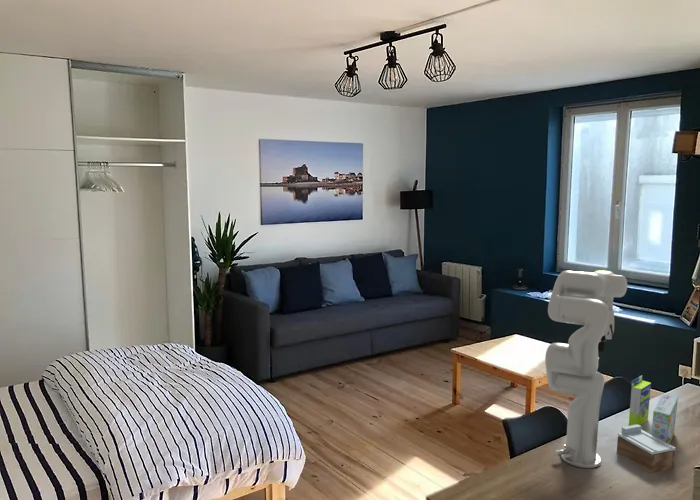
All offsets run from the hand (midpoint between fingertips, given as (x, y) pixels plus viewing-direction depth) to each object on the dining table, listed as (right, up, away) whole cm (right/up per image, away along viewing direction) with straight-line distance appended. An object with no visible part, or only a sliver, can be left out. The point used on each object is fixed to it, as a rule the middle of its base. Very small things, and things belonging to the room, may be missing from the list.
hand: (598, 351), depth 209 cm
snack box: (+18, -31, -11) cm, 38 cm away
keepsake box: (+5, -33, -23) cm, 40 cm away
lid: (+5, -26, -24) cm, 36 cm away
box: (+18, -29, +6) cm, 35 cm away
